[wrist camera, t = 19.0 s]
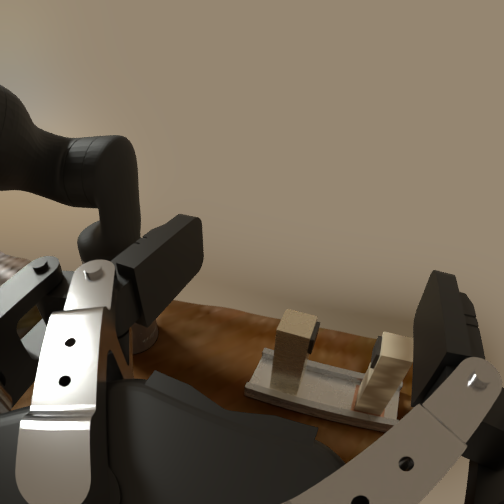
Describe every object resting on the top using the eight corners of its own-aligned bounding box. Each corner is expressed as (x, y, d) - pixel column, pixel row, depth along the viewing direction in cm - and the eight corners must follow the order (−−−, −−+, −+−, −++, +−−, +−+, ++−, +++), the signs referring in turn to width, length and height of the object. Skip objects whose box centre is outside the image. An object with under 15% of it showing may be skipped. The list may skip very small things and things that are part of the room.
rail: (244, 395, 43) (245, 334, 36) (263, 356, 49) (269, 293, 42) (392, 433, 36) (431, 379, 29) (397, 390, 43) (430, 331, 36)
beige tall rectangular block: (350, 408, 39) (376, 354, 33) (355, 387, 43) (379, 330, 36) (380, 415, 38) (412, 362, 32) (383, 393, 41) (413, 338, 35)
